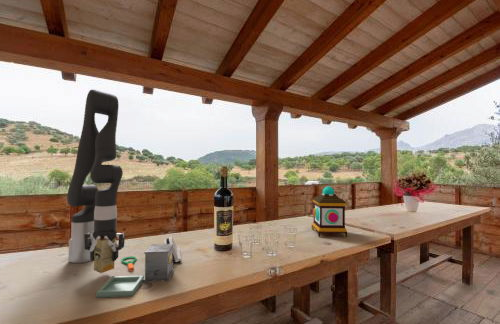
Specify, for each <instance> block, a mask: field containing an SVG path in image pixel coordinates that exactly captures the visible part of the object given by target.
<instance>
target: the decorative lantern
mask: <svg viewBox="0 0 500 324" xmlns="http://www.w3.org/2000/svg"><path fill="white" fill-rule="evenodd" d="M311 201H312V202H313V209H312V216H313V222H312V224H311V229H312V230H311V231H314V230H315V231H316V232H317V235H318V238H321V235H322V233H323V234H324V233H325V234H327V233H329V234H343V236H344V238H347V237H348V231H347V228H346V221H345V220H346V206H347V204H348V203H347V202H346V201H345V200H344V199H343V198H340V197H339V196H338V195H337V194H336V193H335V190H334V188H333V187H332V186H329V185H328V186H326V187H324V188H323V190H322V193H321V194H319V195H317V196H314V197H313V198H312V199H311Z"/></svg>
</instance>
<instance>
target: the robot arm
mask: <svg viewBox="0 0 500 324" xmlns="http://www.w3.org/2000/svg"><path fill="white" fill-rule="evenodd" d="M86 96H87V97H86V100H85V107H84V116H83V123H82V129H81V133H80V138H79V143H78V146H77V152H76V158H75V165H74V170H73V173H72V177H71V180H70V183H69V187H68V189H67V195H66V198H67V199H66V200H67V204H68V206H70V207H83V208H82V209H81V210H80V211H78V212H76V213H74V214H72V216H71V223H70V224H71V227H70V230H71V235H70V238H69V240H68V256H67V257H68V259H67V261H68V263H73V264H82V263H86V262H89V261H91V262H94V249H95V247H96V245H97V240H98V239H107V240H108V244H109V246H110V247H111V248H112V250H113V252H112V261H114V262H115V261H117V259H118V258H119V251H121V250H122V249H123V248H124V247H125V239H126V233H125V232H124V231H123V232H122V233H121V232H118V231H117V225H118V223H117V221H118V218H117V217H118V208H117V207H118V206H117V204H118V203H117V201H118V200H117V199H118V197H117V195H118V190H119V187H120V183H121V180H122V178H123V175H124V174H123V172H124V171H123V168H122V166H120V165H118V164H103V163H105V162H106V163H107V162H111V161H114V160H115V159H116V158H117V143H116V139H117V135H116V134H117V126H118V119H119V118H118V116H119V115H118V114H119V99H118V97H117V96H116V95H114V94H111V93H108V92H104V91H100V90H97V89H90V90H88V92H87V95H86ZM96 114H98V115H103V116H107V118H108V119H107V122H106V124H105V125H104V126H103V128H102V129H101V130H100V131H99V130H98V127H97V125H96V117H95V115H96ZM88 176H89V178H90V180H91V181H92V183H95V184H110V185H109V186H108V187H107V188H103V189H98V187H97V185H95V184H85V180H86V179H87V177H88ZM114 238H115V242H114V243H112V240H113V239H114ZM116 238H117V240H118V241H117V240H116Z"/></svg>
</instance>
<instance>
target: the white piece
mask: <svg viewBox="0 0 500 324" xmlns="http://www.w3.org/2000/svg"><path fill="white" fill-rule="evenodd" d="M163 244H173V247H172V265H173V264H174V263H178V262H180V264H183V259H182V252H181V249H180V247H179V246H177V244H176V242H175V240H174V237H173V236H169V237H168V238H165V239H164V240H163Z"/></svg>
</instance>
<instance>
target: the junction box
mask: <svg viewBox="0 0 500 324" xmlns="http://www.w3.org/2000/svg"><path fill="white" fill-rule="evenodd" d="M172 247H173V244H164V243H160V244H158V243H157V244H150V246H149V247H147V248H146V250H145V251H144V252H143V254H145V256H144V279H143V282H144V283H145V282H167V281H168V282H170V281H169V280H170V279H171V277H172V276H173V275H172V274H173V272H174V271H175V268H173V264H172V257H173V256H172ZM143 282H142V283H143Z"/></svg>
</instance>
